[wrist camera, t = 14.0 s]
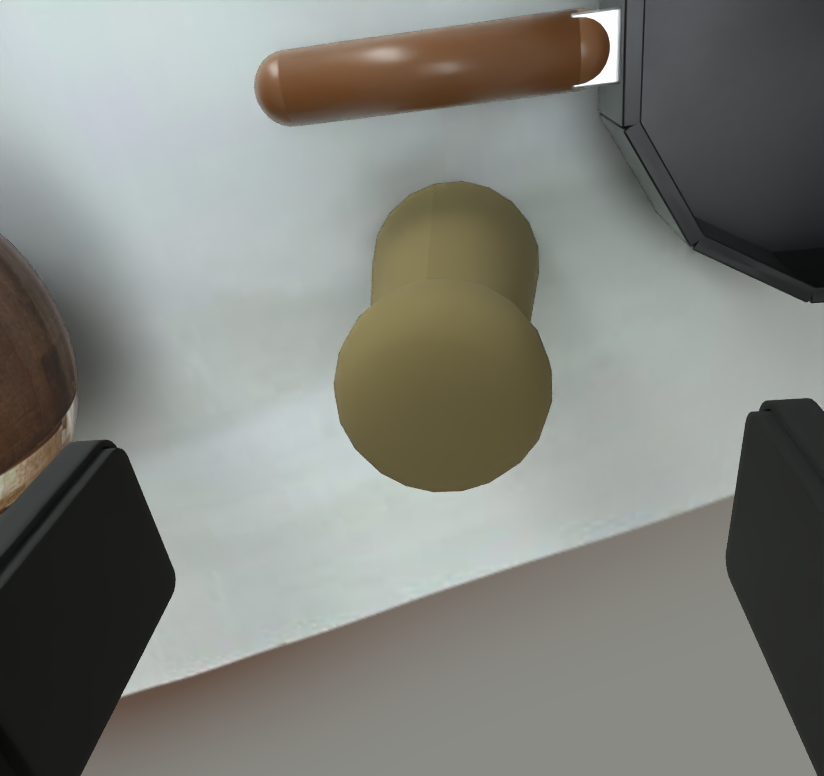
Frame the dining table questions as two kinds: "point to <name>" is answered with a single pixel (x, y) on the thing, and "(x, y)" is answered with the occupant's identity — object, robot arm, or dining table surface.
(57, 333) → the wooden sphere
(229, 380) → the dining table surface
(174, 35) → the dining table surface
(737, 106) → the frying pan
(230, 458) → the dining table surface
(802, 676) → the robot arm
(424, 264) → the olive game pawn
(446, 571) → the dining table surface
